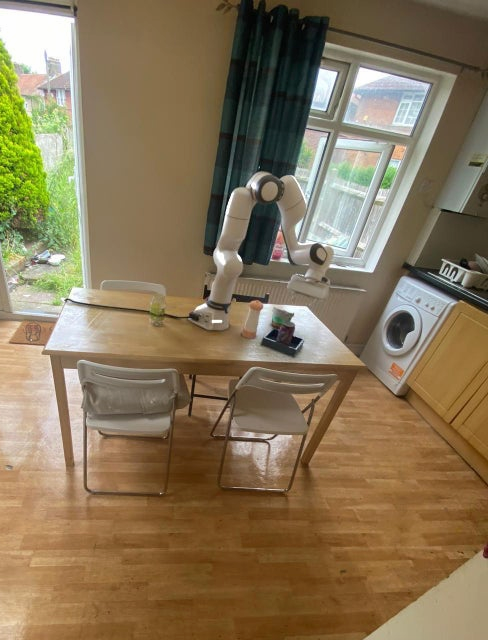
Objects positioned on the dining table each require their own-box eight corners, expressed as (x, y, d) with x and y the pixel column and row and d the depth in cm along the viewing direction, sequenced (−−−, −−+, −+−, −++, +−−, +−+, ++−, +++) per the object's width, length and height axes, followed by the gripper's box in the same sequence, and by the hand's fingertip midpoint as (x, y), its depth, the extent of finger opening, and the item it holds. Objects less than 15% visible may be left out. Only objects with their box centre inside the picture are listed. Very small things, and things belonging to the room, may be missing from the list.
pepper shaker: (246, 330, 180) (255, 296, 168) (257, 335, 177) (267, 301, 165) (239, 334, 175) (247, 299, 163) (250, 339, 172) (260, 304, 160)
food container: (265, 326, 187) (270, 309, 181) (268, 322, 192) (273, 306, 185) (286, 333, 183) (292, 316, 177) (289, 329, 188) (295, 312, 182)
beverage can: (272, 342, 172) (279, 321, 164) (283, 341, 175) (290, 320, 167) (280, 349, 167) (287, 327, 160) (291, 347, 170) (299, 326, 162)
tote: (260, 344, 169) (263, 337, 166) (270, 334, 179) (273, 327, 176) (293, 357, 163) (296, 349, 160) (302, 346, 173) (304, 339, 170)
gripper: (293, 269, 168) (281, 294, 169) (333, 281, 161) (320, 307, 161) (294, 275, 174) (282, 299, 175) (332, 286, 167) (320, 312, 167)
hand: (301, 303), depth 168 cm, fingers open, 8 cm apart
